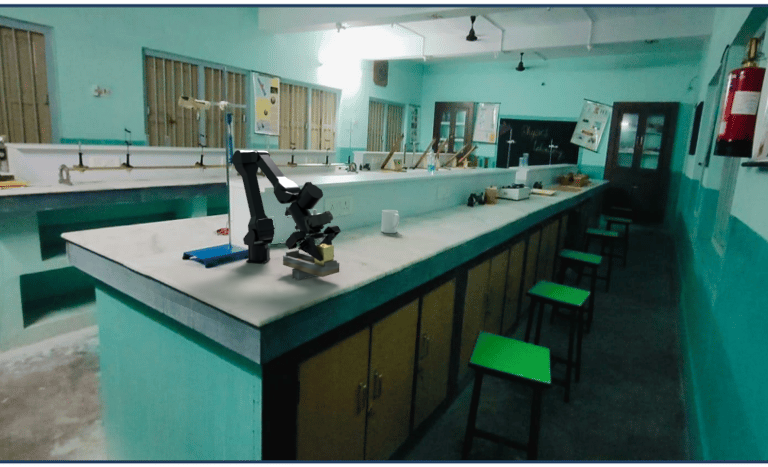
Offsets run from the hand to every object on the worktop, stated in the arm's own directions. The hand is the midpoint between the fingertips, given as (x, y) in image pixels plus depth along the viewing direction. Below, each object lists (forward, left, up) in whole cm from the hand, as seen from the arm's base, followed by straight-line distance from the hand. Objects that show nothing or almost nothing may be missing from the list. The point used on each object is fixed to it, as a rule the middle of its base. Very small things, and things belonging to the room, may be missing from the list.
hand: (327, 259), depth 136 cm
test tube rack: (-28, +52, -8) cm, 60 cm away
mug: (+9, +84, -8) cm, 85 cm away
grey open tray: (-6, +4, -8) cm, 11 cm away
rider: (-1, +1, -3) cm, 3 cm away
